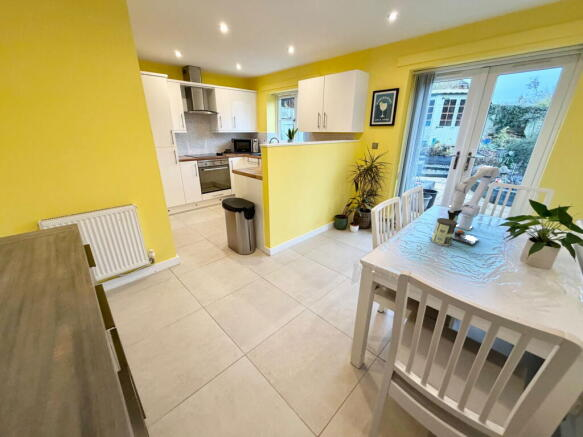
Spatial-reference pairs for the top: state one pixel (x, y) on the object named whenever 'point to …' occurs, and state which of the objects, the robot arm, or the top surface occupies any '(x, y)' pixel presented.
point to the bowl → (454, 218)
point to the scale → (458, 238)
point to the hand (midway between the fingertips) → (452, 220)
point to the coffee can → (444, 231)
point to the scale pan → (468, 237)
